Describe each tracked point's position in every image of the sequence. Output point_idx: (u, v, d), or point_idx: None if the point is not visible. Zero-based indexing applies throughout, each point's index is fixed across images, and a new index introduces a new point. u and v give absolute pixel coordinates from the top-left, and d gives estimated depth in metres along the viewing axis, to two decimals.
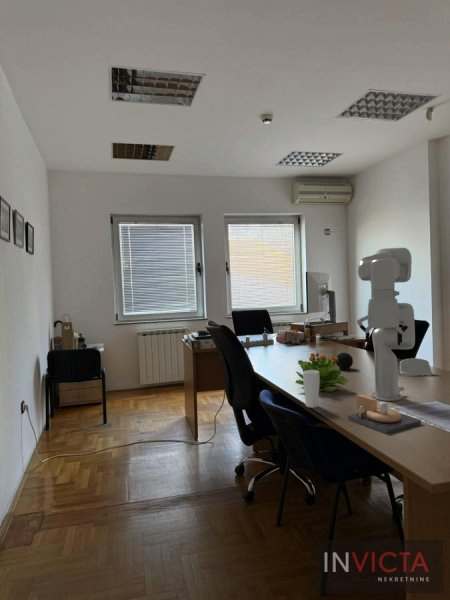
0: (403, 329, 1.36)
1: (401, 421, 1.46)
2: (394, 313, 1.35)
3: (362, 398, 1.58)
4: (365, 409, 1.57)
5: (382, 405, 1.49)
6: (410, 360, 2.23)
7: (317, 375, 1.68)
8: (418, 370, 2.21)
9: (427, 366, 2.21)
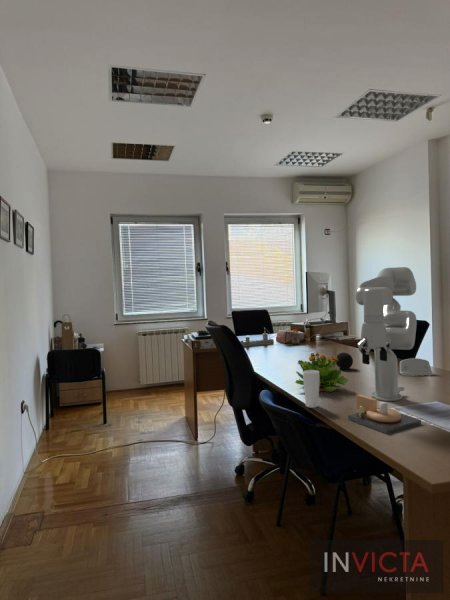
0: (387, 347, 1.62)
1: (401, 421, 1.46)
2: (385, 334, 1.59)
3: (362, 398, 1.58)
4: (365, 409, 1.57)
5: (382, 405, 1.49)
6: (410, 360, 2.23)
7: (317, 375, 1.68)
8: (418, 370, 2.21)
9: (427, 366, 2.21)
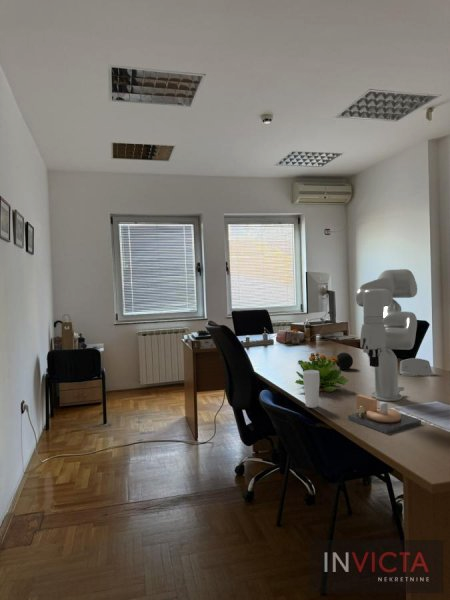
0: None
1: (401, 421, 1.46)
2: (384, 335, 1.60)
3: (362, 398, 1.58)
4: (365, 409, 1.57)
5: (382, 405, 1.49)
6: (410, 360, 2.23)
7: (317, 375, 1.68)
8: (419, 370, 2.21)
9: (428, 366, 2.21)
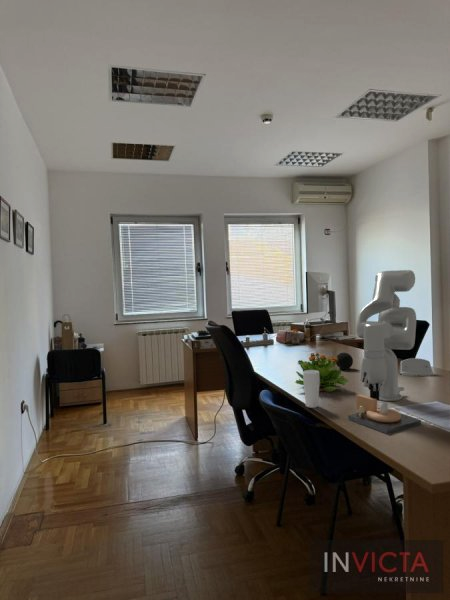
0: None
1: (401, 421, 1.46)
2: (384, 369, 1.60)
3: (362, 398, 1.58)
4: (365, 409, 1.57)
5: (382, 405, 1.49)
6: (411, 360, 2.23)
7: (317, 375, 1.68)
8: (419, 370, 2.21)
9: (428, 366, 2.21)
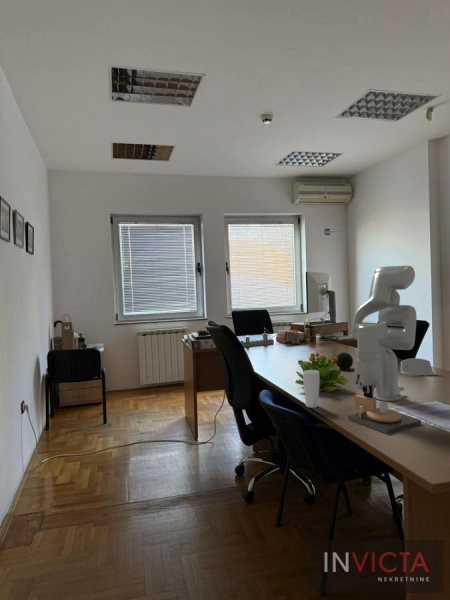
0: None
1: (401, 421, 1.46)
2: (378, 371, 1.59)
3: (361, 398, 1.57)
4: (364, 409, 1.56)
5: (382, 405, 1.49)
6: (411, 360, 2.23)
7: (317, 375, 1.68)
8: (419, 370, 2.20)
9: (428, 366, 2.20)
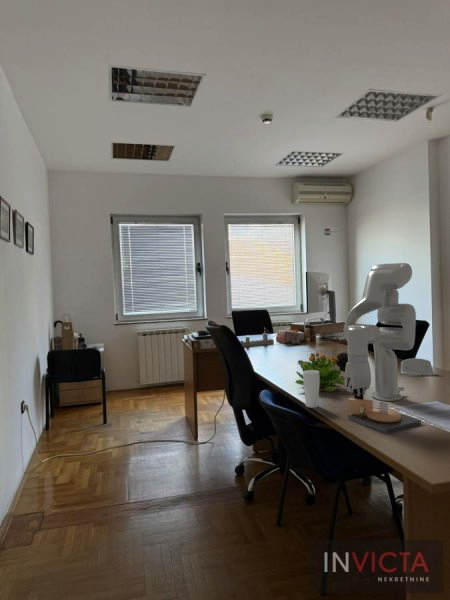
0: None
1: (401, 421, 1.46)
2: (369, 374, 1.57)
3: (357, 402, 1.54)
4: None
5: (385, 405, 1.49)
6: (411, 360, 2.23)
7: (317, 375, 1.68)
8: (420, 370, 2.20)
9: (429, 366, 2.20)
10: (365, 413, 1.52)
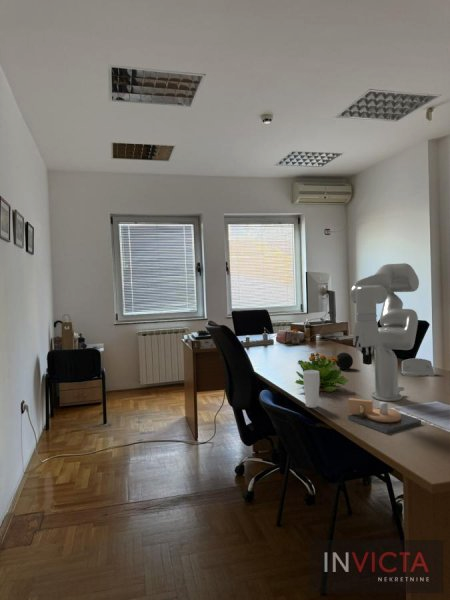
0: None
1: (401, 421, 1.46)
2: (377, 333, 1.58)
3: (357, 402, 1.54)
4: None
5: (385, 405, 1.49)
6: (412, 360, 2.23)
7: (317, 375, 1.68)
8: (420, 370, 2.20)
9: (429, 366, 2.20)
10: (365, 413, 1.52)
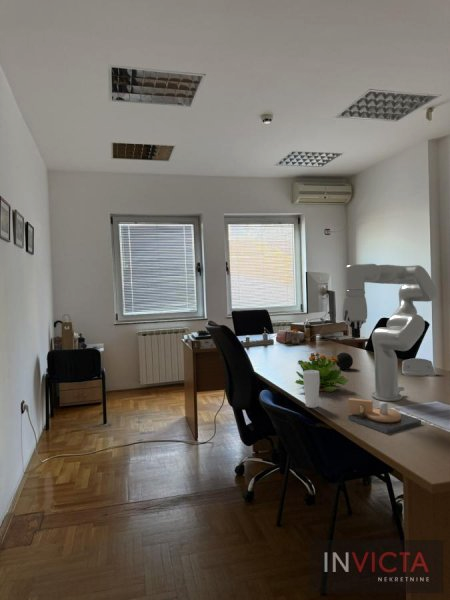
0: None
1: (401, 421, 1.46)
2: (365, 308, 1.68)
3: (357, 402, 1.54)
4: None
5: (385, 405, 1.49)
6: (413, 360, 2.23)
7: (317, 375, 1.68)
8: (421, 370, 2.20)
9: (430, 366, 2.20)
10: (365, 413, 1.52)
